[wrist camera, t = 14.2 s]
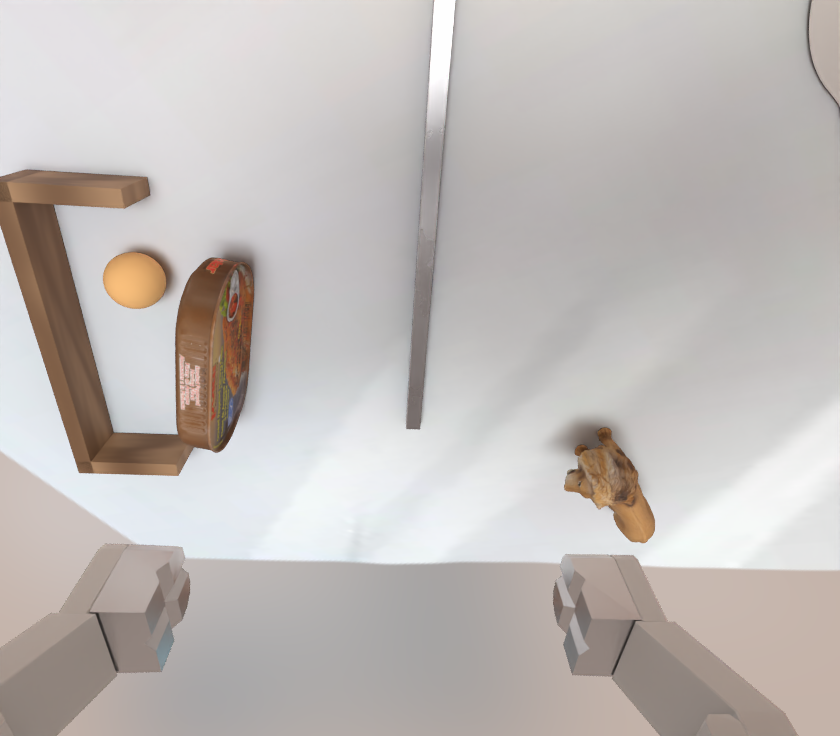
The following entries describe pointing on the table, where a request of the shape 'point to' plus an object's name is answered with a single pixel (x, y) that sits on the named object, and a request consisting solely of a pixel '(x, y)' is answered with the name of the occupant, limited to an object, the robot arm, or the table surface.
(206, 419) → the tin
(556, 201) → the table surface
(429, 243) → the rail
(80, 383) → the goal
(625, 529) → the lion figurine
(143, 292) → the ball
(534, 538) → the table surface
